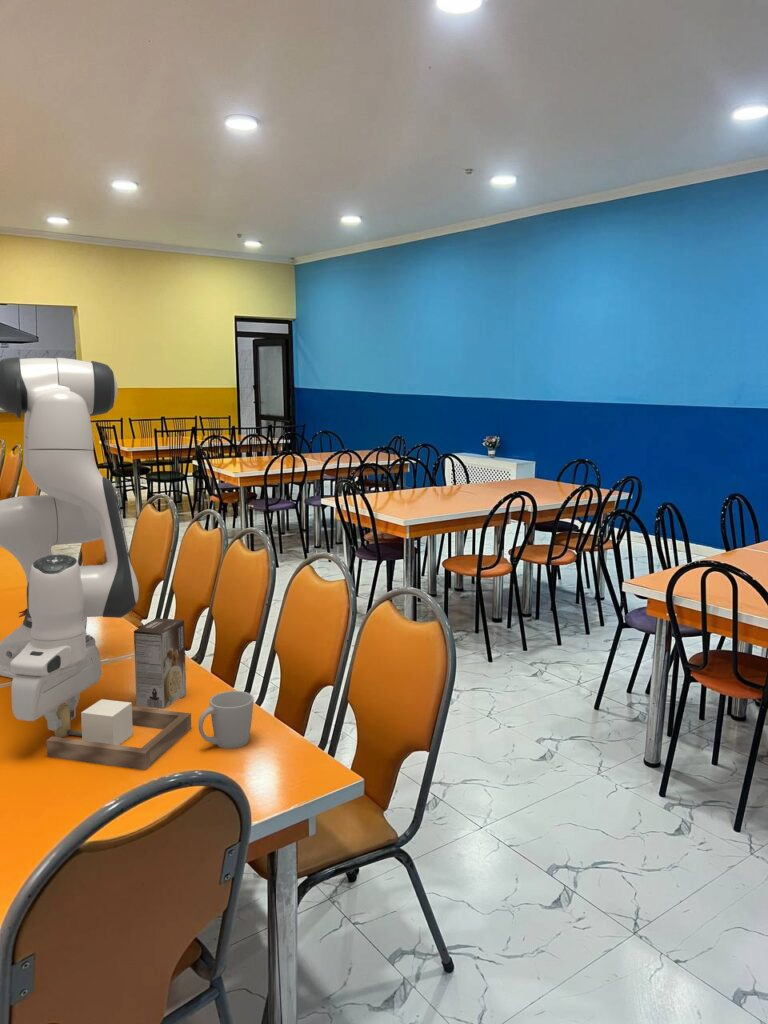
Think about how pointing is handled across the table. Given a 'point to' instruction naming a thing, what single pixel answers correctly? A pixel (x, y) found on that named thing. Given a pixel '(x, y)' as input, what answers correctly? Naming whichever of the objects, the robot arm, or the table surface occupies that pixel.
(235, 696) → the cup
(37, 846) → the table surface
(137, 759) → the shelf lane
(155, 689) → the coffee box
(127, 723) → the white cube and knob
